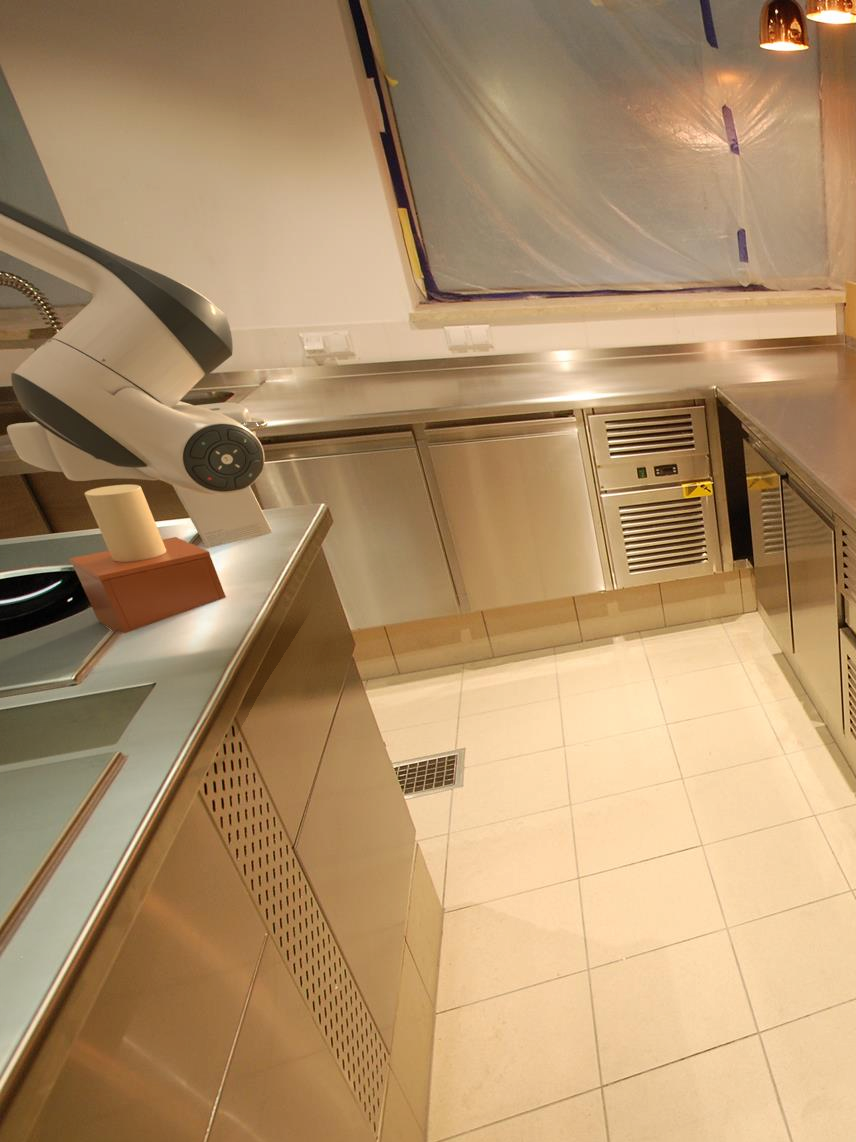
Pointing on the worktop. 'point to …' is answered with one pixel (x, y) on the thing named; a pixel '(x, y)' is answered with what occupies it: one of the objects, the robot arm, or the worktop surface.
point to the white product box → (224, 515)
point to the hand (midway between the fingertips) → (117, 422)
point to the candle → (126, 522)
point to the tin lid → (108, 568)
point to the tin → (151, 593)
